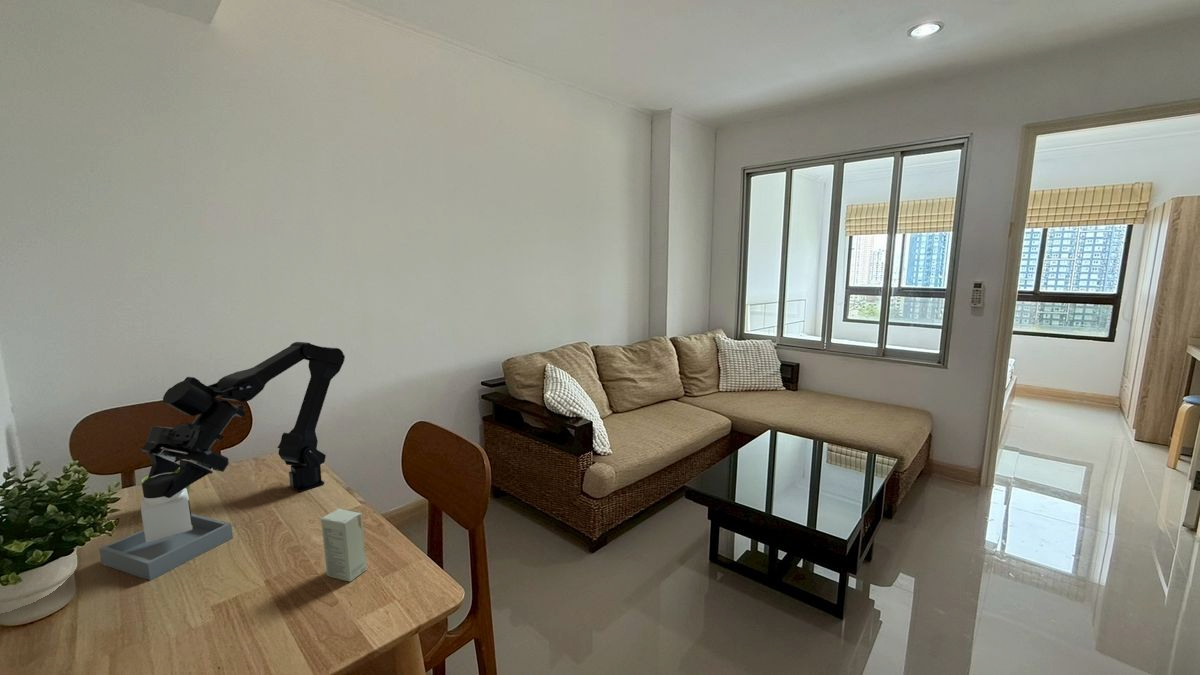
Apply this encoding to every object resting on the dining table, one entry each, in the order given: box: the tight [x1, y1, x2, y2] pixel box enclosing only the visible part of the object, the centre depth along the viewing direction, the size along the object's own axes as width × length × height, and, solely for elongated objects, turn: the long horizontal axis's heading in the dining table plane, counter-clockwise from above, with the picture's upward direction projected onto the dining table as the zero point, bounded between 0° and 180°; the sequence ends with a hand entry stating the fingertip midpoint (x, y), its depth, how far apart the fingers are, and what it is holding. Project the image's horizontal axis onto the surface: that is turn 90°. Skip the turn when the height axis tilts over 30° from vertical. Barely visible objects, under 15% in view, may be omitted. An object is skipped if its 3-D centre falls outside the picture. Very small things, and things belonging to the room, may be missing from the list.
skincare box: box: [320, 507, 368, 582], centre depth 91 cm, size 6×4×12 cm
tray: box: [99, 512, 234, 581], centre depth 98 cm, size 15×15×4 cm
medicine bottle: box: [140, 472, 193, 543], centre depth 97 cm, size 7×7×12 cm
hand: (156, 494), depth 95 cm, fingers closed on medicine bottle, 6 cm apart
